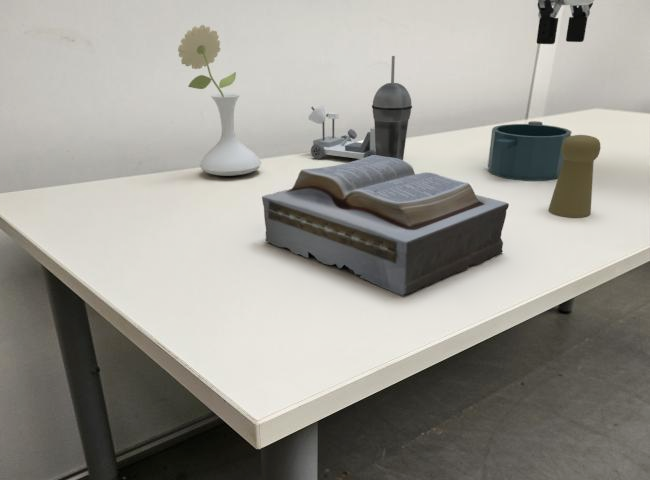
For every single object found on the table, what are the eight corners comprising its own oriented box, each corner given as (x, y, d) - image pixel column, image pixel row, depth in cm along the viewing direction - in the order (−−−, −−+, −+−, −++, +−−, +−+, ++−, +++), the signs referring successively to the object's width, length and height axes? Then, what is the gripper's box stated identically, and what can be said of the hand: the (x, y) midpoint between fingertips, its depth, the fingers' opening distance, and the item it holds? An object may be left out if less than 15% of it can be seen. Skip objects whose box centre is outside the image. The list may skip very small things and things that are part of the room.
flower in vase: (254, 164, 121) (246, 23, 109) (267, 177, 111) (260, 24, 100) (188, 169, 117) (172, 24, 106) (195, 183, 108) (178, 25, 96)
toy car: (299, 107, 122) (329, 100, 131) (300, 156, 127) (330, 147, 135) (378, 114, 113) (405, 106, 122) (376, 167, 118) (403, 156, 127)
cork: (587, 206, 94) (602, 132, 89) (593, 218, 88) (609, 140, 83) (546, 204, 95) (558, 131, 90) (550, 215, 90) (562, 138, 85)
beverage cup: (410, 167, 117) (416, 54, 108) (406, 176, 111) (413, 57, 102) (372, 166, 119) (375, 54, 110) (367, 174, 112) (370, 56, 103)
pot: (584, 169, 116) (591, 128, 112) (531, 187, 104) (538, 142, 101) (520, 158, 124) (525, 120, 121) (465, 173, 113) (469, 132, 109)
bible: (388, 207, 94) (391, 141, 89) (526, 261, 73) (539, 179, 69) (251, 235, 83) (247, 161, 78) (370, 307, 62) (373, 213, 58)
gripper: (571, -79, 92) (553, 45, 100) (624, -71, 102) (604, 41, 110) (527, -74, 97) (513, 44, 105) (582, -67, 107) (566, 40, 115)
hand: (560, 42), depth 108 cm, fingers open, 9 cm apart
